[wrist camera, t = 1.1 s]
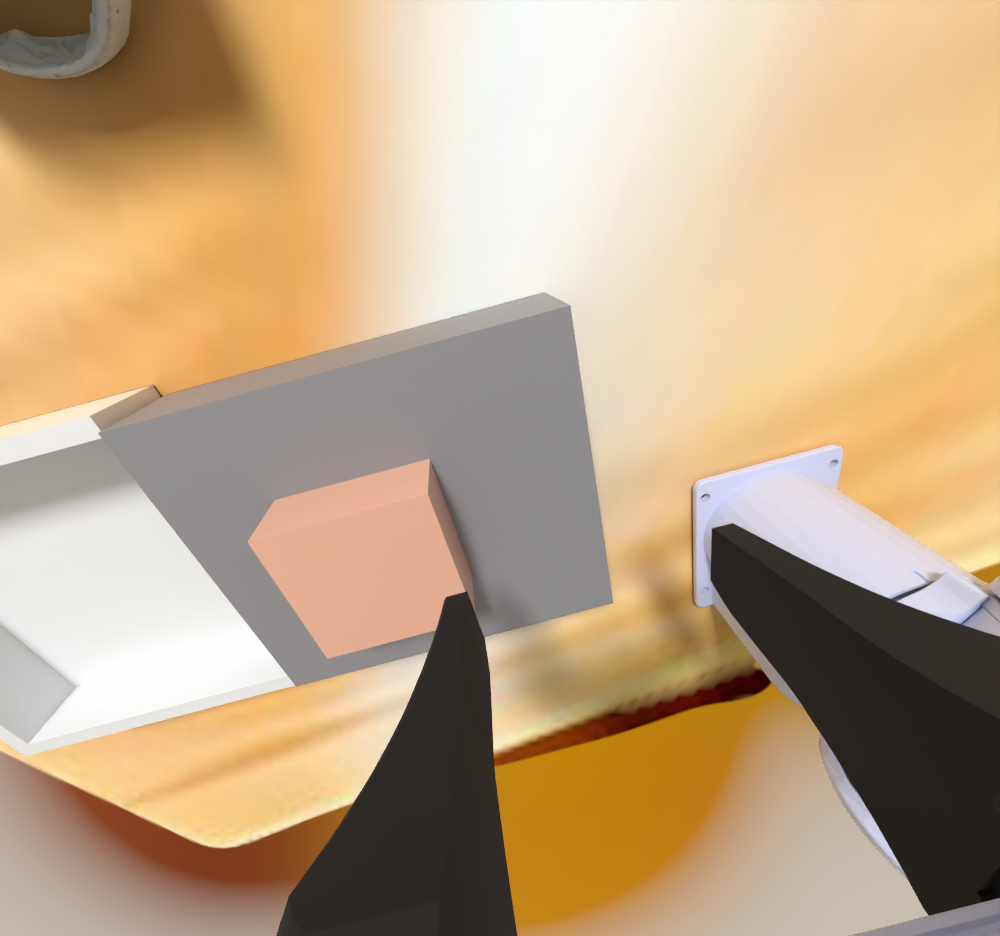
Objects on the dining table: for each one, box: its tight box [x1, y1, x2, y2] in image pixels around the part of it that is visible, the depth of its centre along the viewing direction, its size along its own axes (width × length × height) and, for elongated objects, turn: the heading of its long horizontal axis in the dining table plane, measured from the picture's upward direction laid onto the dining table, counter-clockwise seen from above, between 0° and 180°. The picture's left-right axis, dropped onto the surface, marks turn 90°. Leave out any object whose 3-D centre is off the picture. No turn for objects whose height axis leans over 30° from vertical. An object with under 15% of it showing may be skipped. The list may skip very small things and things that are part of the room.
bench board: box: [98, 293, 613, 686], centre depth 19 cm, size 14×16×4 cm
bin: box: [0, 385, 295, 756], centre depth 19 cm, size 15×14×4 cm
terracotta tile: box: [248, 459, 475, 659], centre depth 16 cm, size 6×6×2 cm
